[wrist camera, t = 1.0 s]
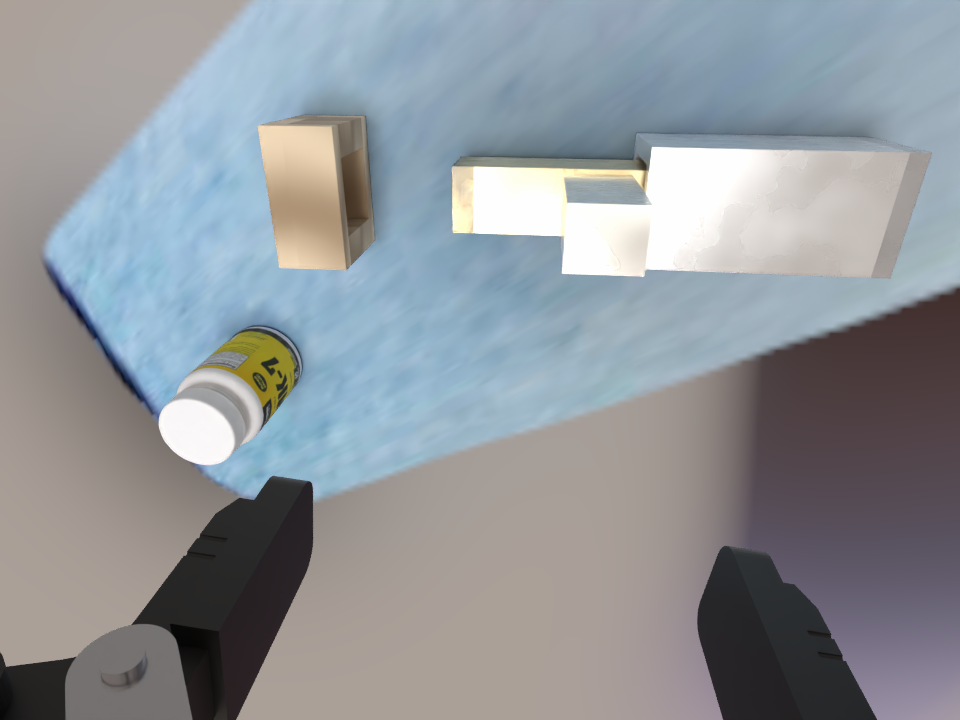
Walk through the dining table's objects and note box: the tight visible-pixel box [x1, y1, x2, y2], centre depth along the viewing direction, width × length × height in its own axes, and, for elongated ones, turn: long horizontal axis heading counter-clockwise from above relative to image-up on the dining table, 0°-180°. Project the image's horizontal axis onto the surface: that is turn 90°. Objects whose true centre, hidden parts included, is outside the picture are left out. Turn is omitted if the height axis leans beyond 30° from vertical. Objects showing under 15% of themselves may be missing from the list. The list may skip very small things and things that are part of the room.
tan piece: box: [452, 156, 654, 277], centre depth 25 cm, size 3×18×9 cm, turn 90°
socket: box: [258, 115, 375, 270], centre depth 29 cm, size 6×3×5 cm, turn 0°
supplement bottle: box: [159, 327, 302, 465], centre depth 34 cm, size 5×5×8 cm
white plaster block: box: [633, 133, 932, 278], centre depth 27 cm, size 5×11×5 cm, turn 90°
